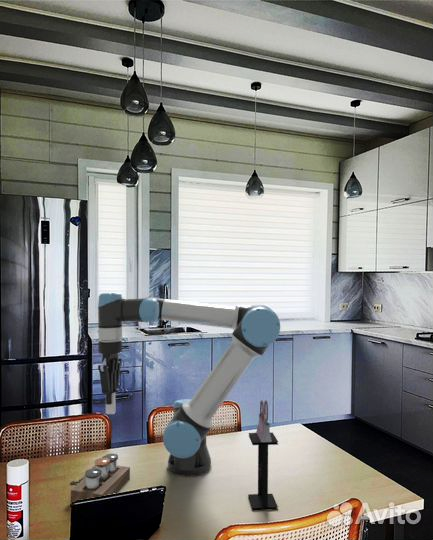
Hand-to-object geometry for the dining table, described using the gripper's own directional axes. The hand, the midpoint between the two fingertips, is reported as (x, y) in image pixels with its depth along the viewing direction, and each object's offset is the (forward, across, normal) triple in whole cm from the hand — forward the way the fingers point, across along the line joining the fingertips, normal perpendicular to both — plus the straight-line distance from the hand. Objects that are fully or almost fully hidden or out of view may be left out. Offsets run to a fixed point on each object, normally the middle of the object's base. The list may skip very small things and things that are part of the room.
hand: (110, 413), depth 133 cm
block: (+22, +6, 0) cm, 23 cm away
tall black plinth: (+23, +3, +49) cm, 54 cm away
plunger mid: (+21, +6, 0) cm, 21 cm away
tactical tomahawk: (+23, -6, -9) cm, 25 cm away
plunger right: (+21, 0, 0) cm, 21 cm away
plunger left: (+21, +11, -1) cm, 24 cm away
